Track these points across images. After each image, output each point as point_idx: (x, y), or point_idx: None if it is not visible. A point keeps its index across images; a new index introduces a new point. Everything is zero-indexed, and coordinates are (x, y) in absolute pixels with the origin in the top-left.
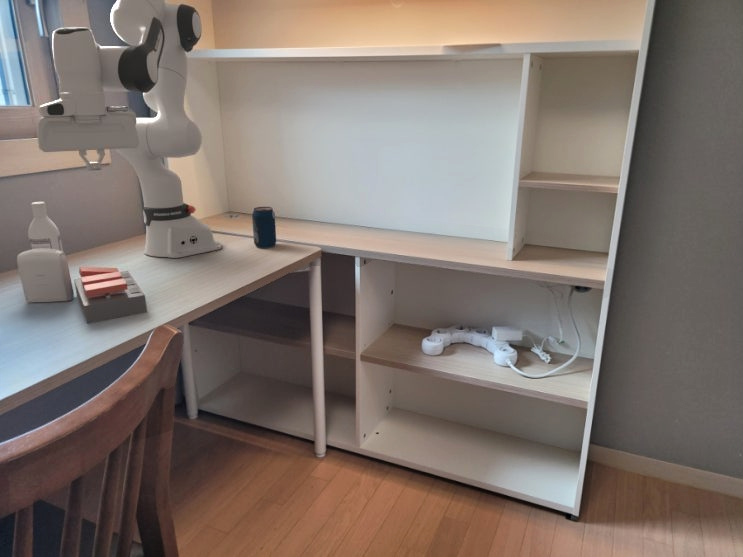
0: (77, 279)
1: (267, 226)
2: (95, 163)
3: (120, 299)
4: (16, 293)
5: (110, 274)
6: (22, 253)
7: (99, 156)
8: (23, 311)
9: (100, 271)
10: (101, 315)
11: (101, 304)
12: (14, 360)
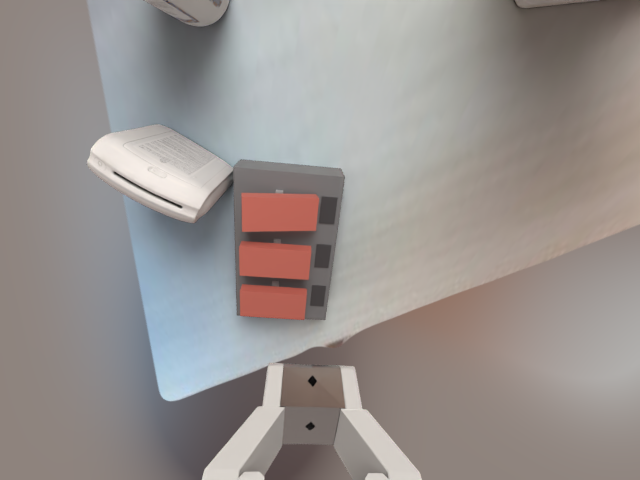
0: (239, 175)
1: None
2: (317, 438)
3: None
4: (118, 62)
5: (292, 260)
6: (97, 172)
7: (367, 467)
8: None
9: (279, 230)
10: None
11: None
12: (159, 349)
